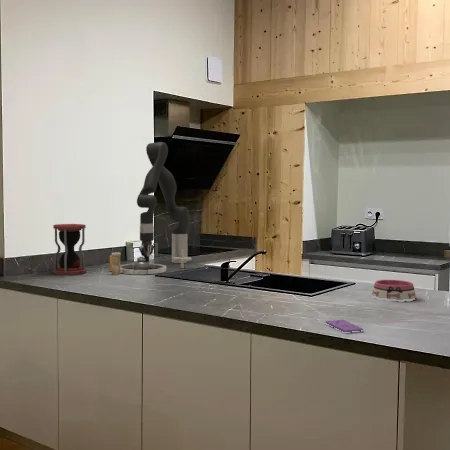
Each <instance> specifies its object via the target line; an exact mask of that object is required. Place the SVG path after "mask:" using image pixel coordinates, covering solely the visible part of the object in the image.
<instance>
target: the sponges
mask: <svg viewBox="0 0 450 450" xmlns="http://www.w3.org/2000/svg"><path fill="white" fill-rule="evenodd" d="M326 323H327V324H329V325H331V326H333V327H335V328H337V329H339V330H341V331H343V332H352V331H361V330H363V331H364V328H363V327H360V326H359V325H356V324H353V323H351V322H350V321H348V320H346V319H344V318H342V319H337V320H336V319H334V320H325V324H326Z"/></svg>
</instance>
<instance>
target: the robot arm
mask: <svg viewBox="0 0 450 450" xmlns="http://www.w3.org/2000/svg"><path fill="white" fill-rule="evenodd" d="M145 151H146V155H147V158H148V161H149V162H150V165H151V168H150V169H149V171H148V172H147V173H146V175H145V179H144V182H143V186H142V188H141V191H140V192H139V193H138V195H137V197H136V205H137V207H139V208H141V209H143V208H144V209H146V208H147V211H143V212H141V213H140V214H139V215H140V219H139V221H140V222H139V240H140V241H141V245H140V247H138V250H139V252H140V254H141V257H143V258H146V261H148V262H149V263H150V257H151V256H152V254H153V252H154V249H155V245H153V241H154V240H155V233H154V232H155V227H154V215H155V211H156V207H157V202H158V201H157V196H155V195H154V193H155V192H156V191H157V187H158V185H159V188H160V191H161V193H162V195H163V198H164V202H165V205H166V208H167V213H168V216H169V219H170V221H172V222H174V223H178V225H177V226H176V227H173V228H172V229H171V263H173V264H181V262H180V261H173V257H181V250H184V257H188V248H189V247H188V231H189V226H190V224H189V223H190V210H189V209H188V208H187V207H185V206H177V204H176V201H175V197H176V193H177V190H178V189H177V188H178V187H177V183H176V180H175V178H174V175H173V173H172V172H171V171H170V170H169V169H167V168H166V167H165V165H164V164H165V162H166V161H167V158H168V155H169V154H168V153H169V147H168V145H167V143H166V142H163V141H158V142H149V143H148V144H146V149H145ZM185 263H188V261H184V264H185Z"/></svg>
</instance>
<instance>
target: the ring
mask: <svg viewBox="0 0 450 450" xmlns="http://www.w3.org/2000/svg"><path fill="white" fill-rule="evenodd" d="M109 271H110V272H112V254H110V255H109ZM166 272H167V265H164V264H160V263H149V270H134V263H127V264H120V274H124V275H125V274H126V275H155V274H162V273H166Z"/></svg>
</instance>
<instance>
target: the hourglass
mask: <svg viewBox="0 0 450 450" xmlns="http://www.w3.org/2000/svg"><path fill="white" fill-rule="evenodd" d="M52 226H53V227H52V228H53V229H54V242H55V245H56V247H57V251H56V253H55V255H54V269H53V274H54V273H55V274H54V275H59V274H61V276H77V275H83V274H86V271H87V270H86V268H85V266H86V265H85V262H86V261H85V254H84V252H83V249H82V248H83V246H84V245H85V240H86V239H85V229H86V228H87V227H86V224H82V223H60V224H57V223H56V224H53V225H52ZM81 231H82V232H81ZM81 237H82V238H81ZM58 239H59V241H60V242H61V244H62V245H63V246H64V252H63V253H62V254H61V255H60V257H59V259H58V256H59V254H60V252H61V245H60V244H59V242H58ZM80 239H81V243H80V245H79V246H78V247H79V248H78V251H79V253H80V254H81V257H82V259H81V258H80V256H79V255H78V254H77V252H76V251H75V246H76V245H77V244H78V242H79V241H80ZM58 260H59V261H58ZM81 261H82V264H81ZM58 265H59V267H58ZM81 265H82V266H81Z"/></svg>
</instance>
